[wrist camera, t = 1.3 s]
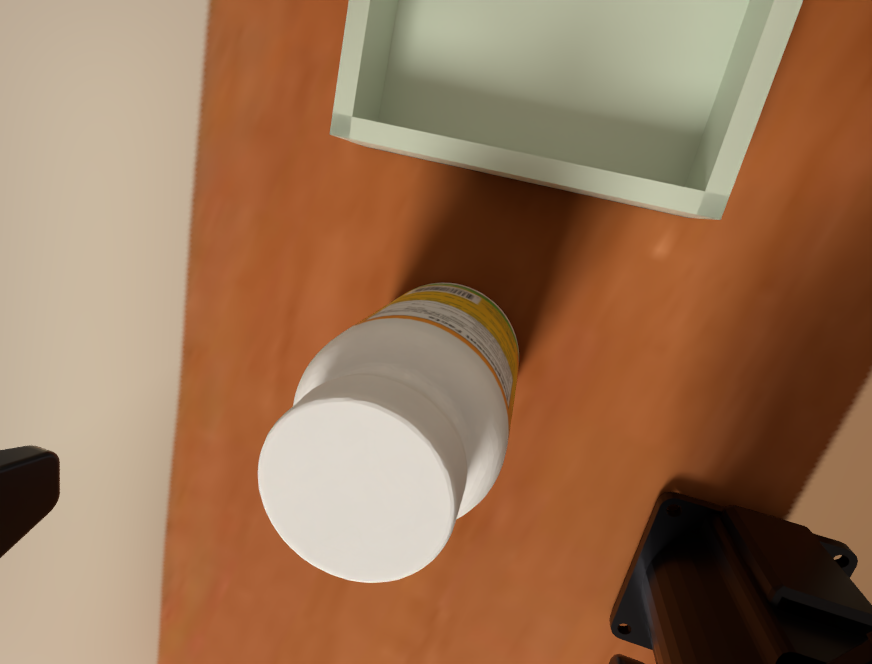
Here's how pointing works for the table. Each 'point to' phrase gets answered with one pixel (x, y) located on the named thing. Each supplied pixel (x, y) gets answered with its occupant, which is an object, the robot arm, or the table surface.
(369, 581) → the supplement bottle
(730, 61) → the tray
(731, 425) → the table surface
